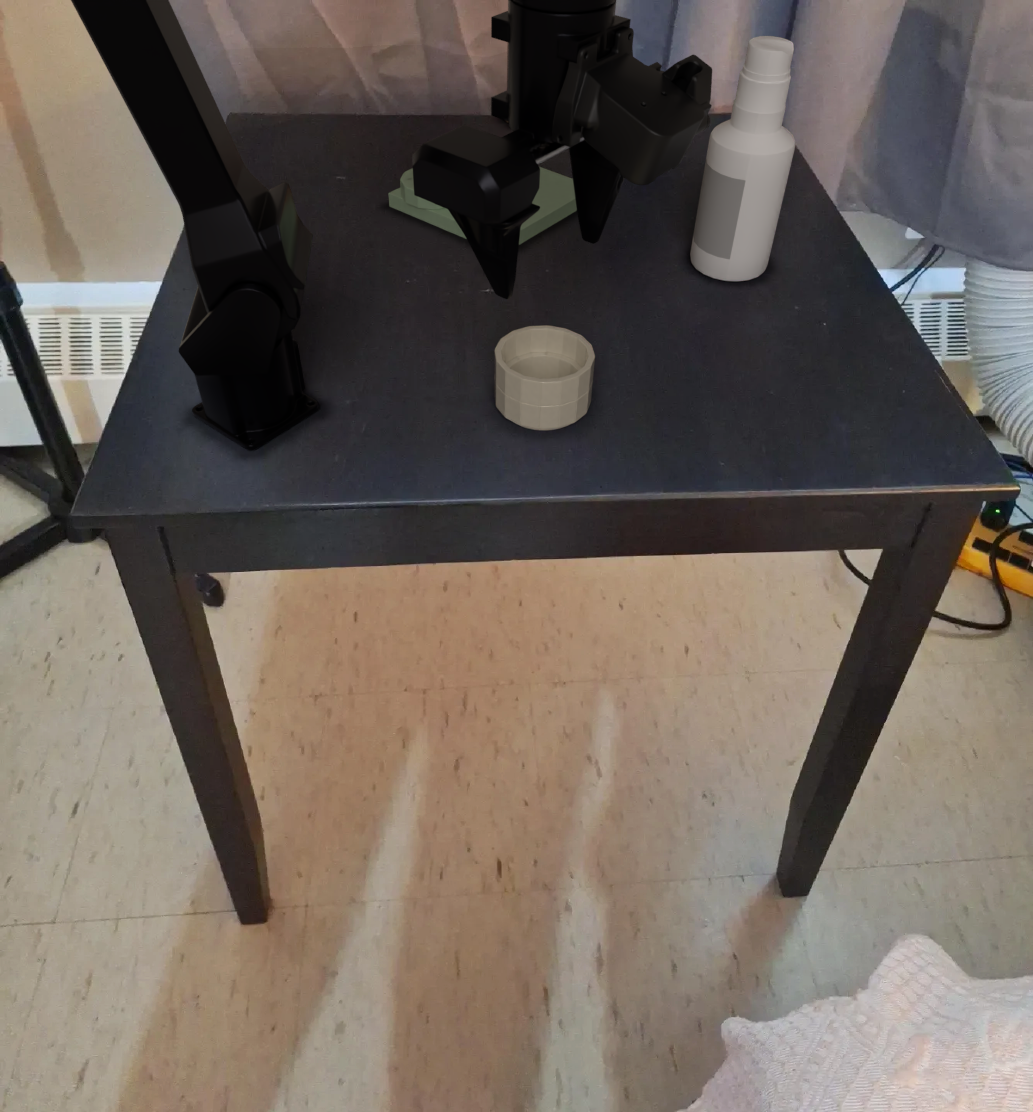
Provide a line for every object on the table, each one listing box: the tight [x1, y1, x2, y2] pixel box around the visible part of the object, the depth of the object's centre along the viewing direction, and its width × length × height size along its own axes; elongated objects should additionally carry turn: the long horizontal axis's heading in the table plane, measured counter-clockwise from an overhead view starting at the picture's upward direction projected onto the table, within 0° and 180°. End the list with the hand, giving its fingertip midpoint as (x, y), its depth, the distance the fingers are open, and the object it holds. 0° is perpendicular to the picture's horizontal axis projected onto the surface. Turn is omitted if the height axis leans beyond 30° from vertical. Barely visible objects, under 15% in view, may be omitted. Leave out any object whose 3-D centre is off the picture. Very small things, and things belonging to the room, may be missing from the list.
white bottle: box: [689, 35, 796, 282], centre depth 77 cm, size 7×7×18 cm
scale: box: [388, 166, 577, 246], centre depth 89 cm, size 14×14×3 cm
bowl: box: [493, 324, 596, 431], centre depth 67 cm, size 7×7×4 cm
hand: (548, 267), depth 61 cm, fingers open, 9 cm apart
